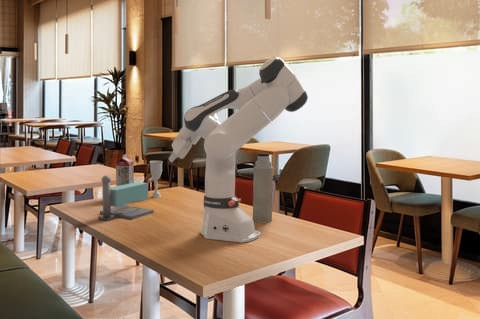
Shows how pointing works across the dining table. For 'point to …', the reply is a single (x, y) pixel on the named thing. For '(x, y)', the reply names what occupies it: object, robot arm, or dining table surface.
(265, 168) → the thermos bottle
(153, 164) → the chalice
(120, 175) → the white tall printed box
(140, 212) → the grey flat rectangular block
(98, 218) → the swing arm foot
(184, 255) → the dining table surface
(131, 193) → the block
